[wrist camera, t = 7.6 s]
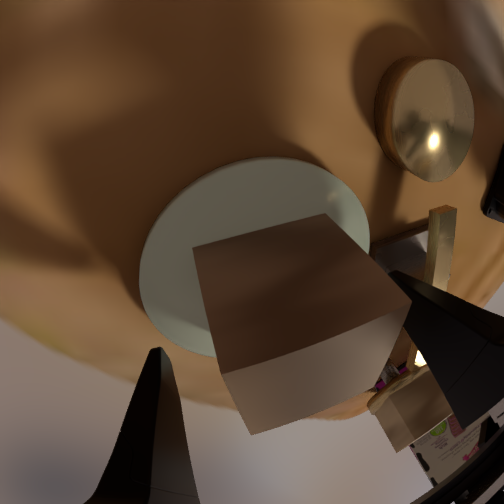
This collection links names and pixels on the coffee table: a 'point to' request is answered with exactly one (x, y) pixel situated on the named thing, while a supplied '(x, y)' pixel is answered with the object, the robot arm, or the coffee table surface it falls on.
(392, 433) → the oak block
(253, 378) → the walnut block
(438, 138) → the balance
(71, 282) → the coffee table surface
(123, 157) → the coffee table surface
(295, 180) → the sage dish
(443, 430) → the candy bar box
